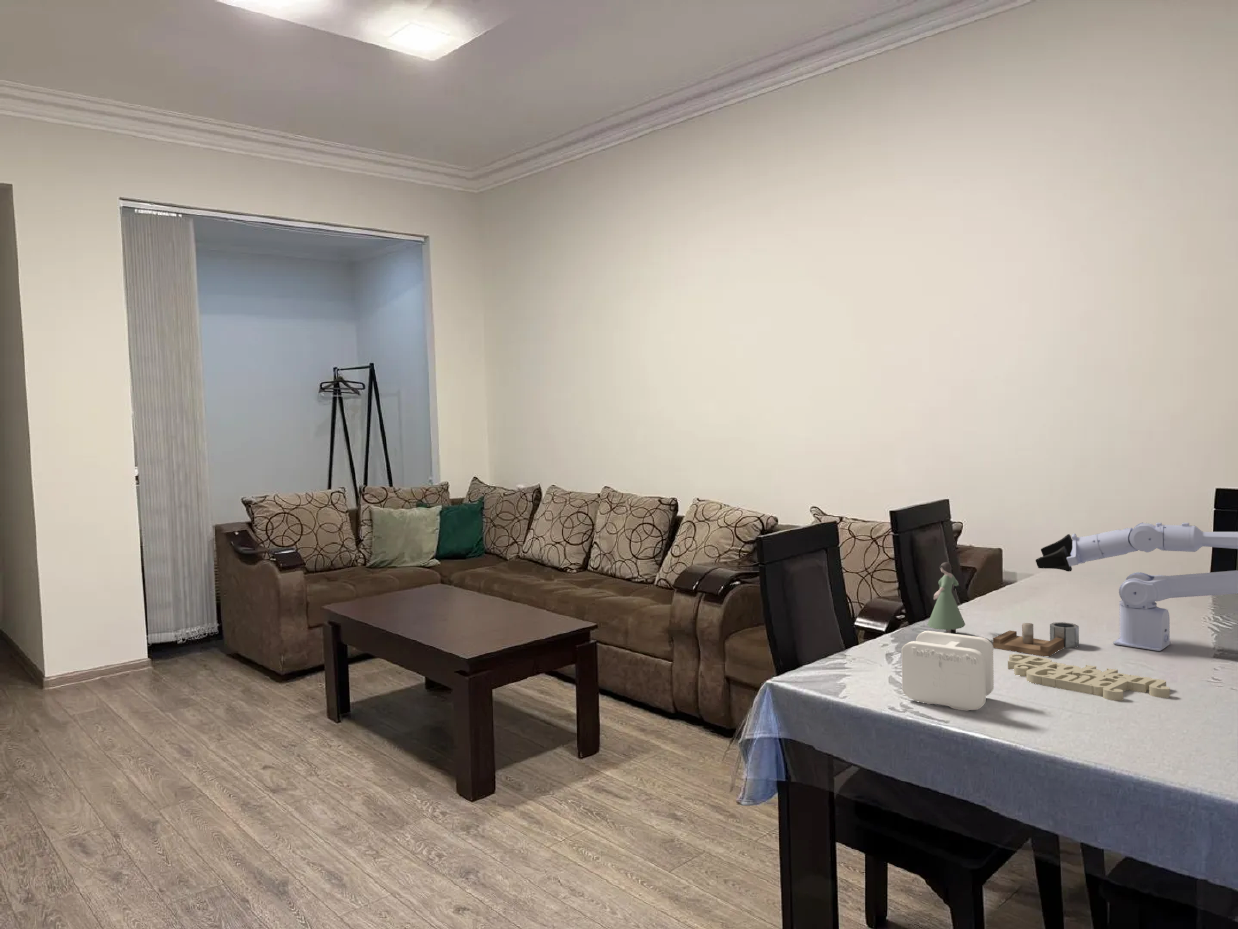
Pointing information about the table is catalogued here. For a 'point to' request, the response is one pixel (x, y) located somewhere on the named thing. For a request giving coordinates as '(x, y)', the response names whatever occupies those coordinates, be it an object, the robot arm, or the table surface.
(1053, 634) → the tube
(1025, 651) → the shaft block
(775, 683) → the table surface
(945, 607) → the character figurine
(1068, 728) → the table surface
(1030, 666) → the decorative sign
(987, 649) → the cable organizer
